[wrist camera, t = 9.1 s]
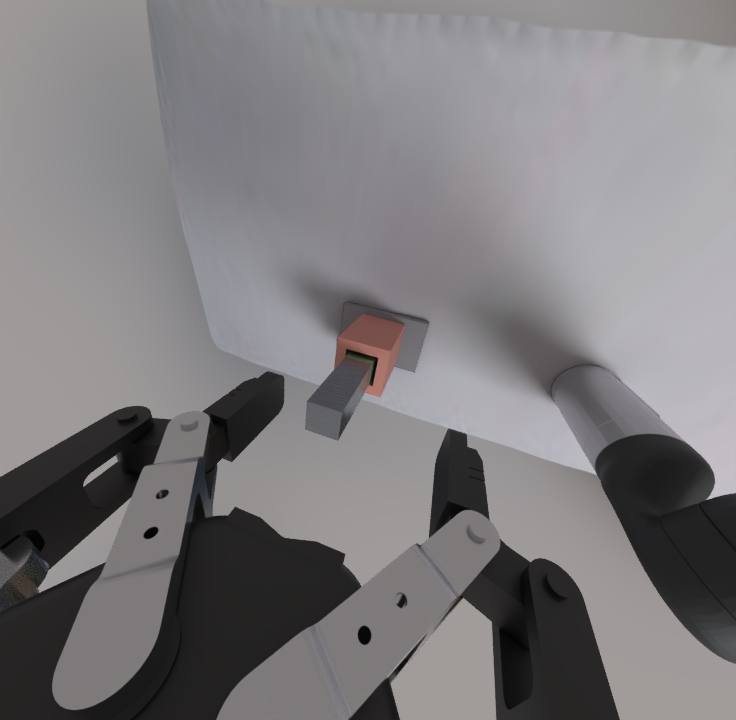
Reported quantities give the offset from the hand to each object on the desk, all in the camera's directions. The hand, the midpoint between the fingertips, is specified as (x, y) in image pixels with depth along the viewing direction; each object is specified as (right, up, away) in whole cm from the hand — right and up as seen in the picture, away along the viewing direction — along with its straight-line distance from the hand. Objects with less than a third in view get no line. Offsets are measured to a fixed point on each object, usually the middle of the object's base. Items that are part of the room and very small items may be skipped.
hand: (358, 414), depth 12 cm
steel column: (+1, +4, +32) cm, 33 cm away
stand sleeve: (+3, +7, +40) cm, 40 cm away
